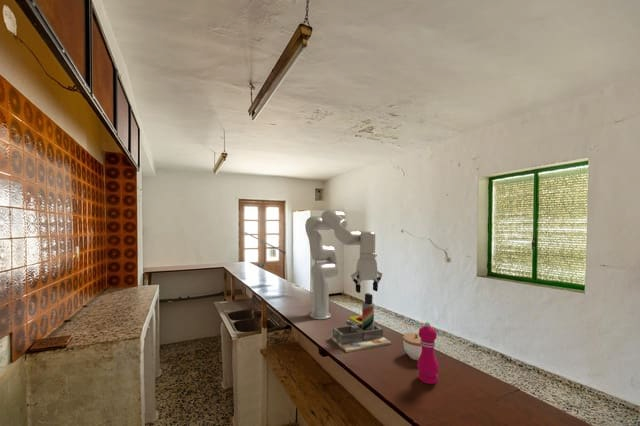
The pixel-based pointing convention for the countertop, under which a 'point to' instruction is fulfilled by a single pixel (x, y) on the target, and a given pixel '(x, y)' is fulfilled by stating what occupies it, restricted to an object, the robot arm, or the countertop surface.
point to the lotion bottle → (368, 313)
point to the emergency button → (355, 320)
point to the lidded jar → (412, 345)
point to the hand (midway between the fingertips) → (366, 291)
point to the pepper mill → (427, 355)
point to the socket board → (358, 337)
